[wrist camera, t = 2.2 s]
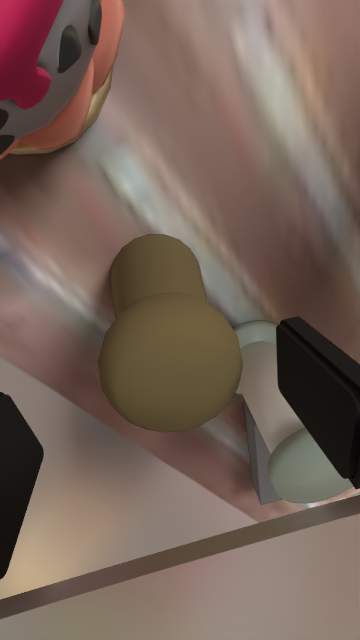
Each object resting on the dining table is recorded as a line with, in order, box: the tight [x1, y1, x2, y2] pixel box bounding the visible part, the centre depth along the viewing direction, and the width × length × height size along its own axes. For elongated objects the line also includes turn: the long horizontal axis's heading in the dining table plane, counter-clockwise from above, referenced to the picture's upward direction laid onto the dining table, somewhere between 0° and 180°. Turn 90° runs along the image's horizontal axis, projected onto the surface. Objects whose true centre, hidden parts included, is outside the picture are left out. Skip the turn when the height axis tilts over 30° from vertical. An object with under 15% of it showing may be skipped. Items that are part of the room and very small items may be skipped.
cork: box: [98, 234, 243, 432], centre depth 14 cm, size 6×6×11 cm
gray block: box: [244, 403, 282, 505], centre depth 27 cm, size 20×12×2 cm, turn 101°
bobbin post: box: [233, 321, 353, 503], centre depth 18 cm, size 6×6×10 cm
